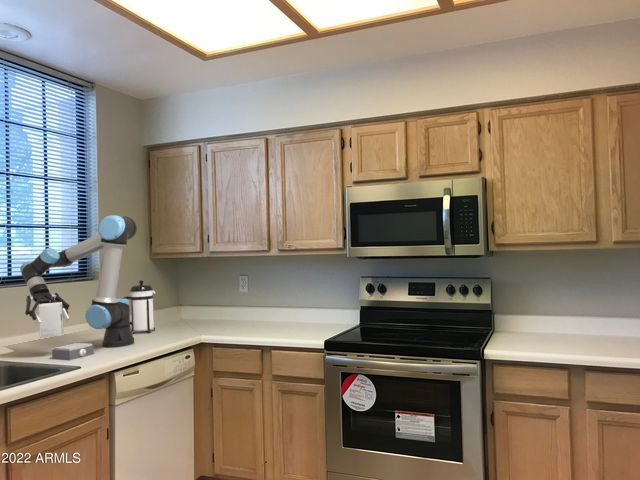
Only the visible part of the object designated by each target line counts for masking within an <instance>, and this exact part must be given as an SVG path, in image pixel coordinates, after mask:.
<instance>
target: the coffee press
mask: <svg viewBox="0 0 640 480" xmlns="http://www.w3.org/2000/svg"><path fill="white" fill-rule="evenodd" d="M138 283H139V284H136V285H132V286H131V287H130V289H129V293H130V296H128V295H127V296H125V297H122V298H121V299H128V300H130V326H131V332H132V335H135V334H136V332H137V333H138V332H146V333H147V334H148V335H150V334H152V331H153V332H154V331H155V330H156V328H155V326H154V325H155V321H154V294H156V291H155V290H154V288H153V287H152V285H150V284H143V283H144V281H143V280H142V279H141V280H139V282H138Z"/></svg>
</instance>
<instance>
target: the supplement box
mask: <svg viewBox="0 0 640 480" xmlns="http://www.w3.org/2000/svg"><path fill="white" fill-rule="evenodd" d="M38 316H39V318H40V321H41V324H40V326H38V328H39V339H43V338H53V337H61V336H63V334H64V317H63V312H62V302H57V303H44V304H38Z"/></svg>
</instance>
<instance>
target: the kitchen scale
mask: <svg viewBox="0 0 640 480" xmlns="http://www.w3.org/2000/svg"><path fill="white" fill-rule="evenodd" d="M94 348H95V346H94V345H93V343H87V342H86V343H83V342H74V343H70V344H65V345H61V346H57V347H53V349H51V356H52V357H51V359H52V360H60V361H61V360H62V361H64V360H65V361H72V360H75V359H80V358H85V357H88V356H92V355H94V354H95V349H94Z"/></svg>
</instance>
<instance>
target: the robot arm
mask: <svg viewBox="0 0 640 480" xmlns="http://www.w3.org/2000/svg"><path fill="white" fill-rule="evenodd" d="M97 232H98V234H96V235H93V236H91V237H89V238H87V239H85V240H83V241H81V242H78V243H76V244H73V245H72V246H70V247H67V248H66V249H63V250H61V251H59V252H58V251H57V250H56V249H54V248H52V247H47V248H46V249H44V250H43V251H41V252H40V254H39V255H37V256H36V258H34V260H32V261H31V260H30V261H29V260H28V261H26V262H24V263H22V264H21V266H20V269H19V270H20V273H21V276H22V278H23V280H24V281H25V283H26V286H27V289H28V291H29V293H30V295H27V296H26V299H25V303H26V305H25V306H26V307H25V312H24V314H25V316H28V315H29V317H31V318H32V321H35V324H36V325H37V327H39V326H40V324H41V321H40V318H39V313H38V312H37V308H38V307H39V305H40V304H44V303H57V302H62V312H63V320H64V321H65V323H68V322H69V320H70V317H69V311H68V310H69V309H70V304H69V303H68V302H66V301H65V300H64V299H63V298H62V297H61V296H60V295H59V294H58V293H57V292H55V293H54V294H52V293H50V290H49V288H48V286H47V284H46V281H45V279H44V278H43V275H44V274H45V273H46V272H47V271H48V270H49V269H50V268H66V267H70V266H71V265H73V263H74V262H77V261H79V260H81V259H83V258H85V257H88V256H90V255H92V254H94V253H96V252H99V251H101V250H102V254H101V261H100V268H99V275H98V281H97V287H96V288H97V289H96V295H95V296H94V297H92V298H91V299H92V300H91V305H90V306H89V307H87V309H86V311H85V313H84V314H85V320H86V323H87V324H88V325H89V326H90V327H91V328H92V329H95V330H104V329H105V330H104V334H103V339H102V341H101V346H102V347H104V348H116V347H117V348H119V347H127V346H129V345H133V344H135V337H134V334H132V333H133V331H132V332H131V330H132V328H131V325H130V322H131V304H130V301H129V300H130V299H122V298H117V296H116V295H117V289H118V283H119V276H120V269H121V262H122V255H123V249H124V248H125V247H126V246H127V245H128V244H127V243H128V240H131V239H132V238H134V237H135V236H136V234H137V232H138V225H137V222H136V221H135V220H134V219H133V218H131V217H130V216H123V215H115V214H114V215H107V216H104V217H103V218H102V219H101V220H100V222H99V223H98V226H97ZM32 301H33V302H35V303H34V305H33V307H32V309H31V303H32Z"/></svg>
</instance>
